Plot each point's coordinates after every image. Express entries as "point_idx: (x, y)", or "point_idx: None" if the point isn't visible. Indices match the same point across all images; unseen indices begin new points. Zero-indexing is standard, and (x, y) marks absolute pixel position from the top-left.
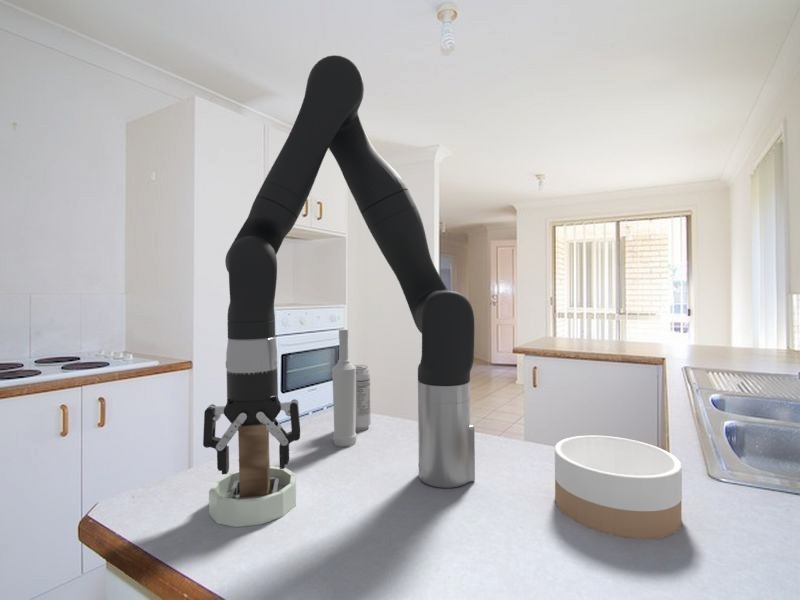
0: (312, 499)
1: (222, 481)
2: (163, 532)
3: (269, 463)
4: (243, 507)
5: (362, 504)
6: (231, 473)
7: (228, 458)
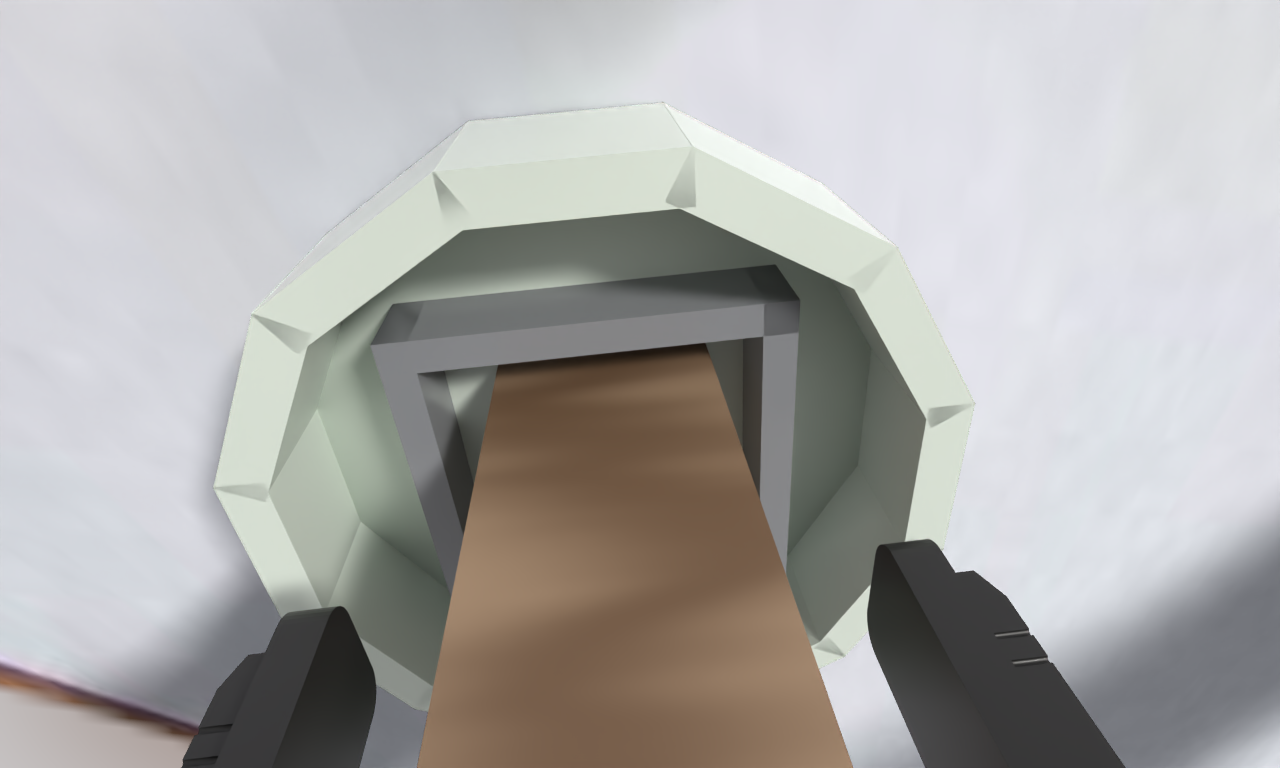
0: (992, 375)
1: (283, 450)
2: (181, 633)
3: (757, 497)
4: None
5: (1256, 457)
6: (288, 318)
7: (302, 732)
